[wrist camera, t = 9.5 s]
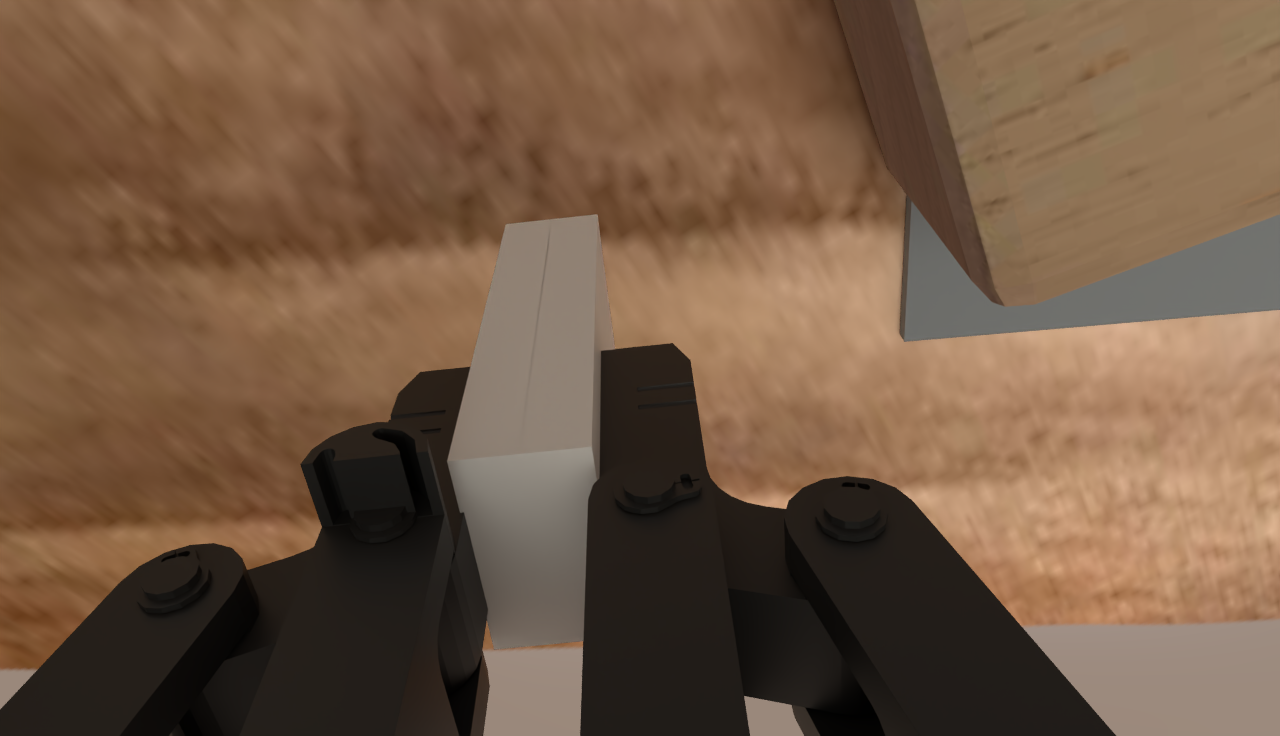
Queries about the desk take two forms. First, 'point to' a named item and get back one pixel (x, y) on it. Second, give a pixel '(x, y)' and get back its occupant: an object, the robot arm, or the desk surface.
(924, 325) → the mat
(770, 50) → the desk surface
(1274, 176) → the block
